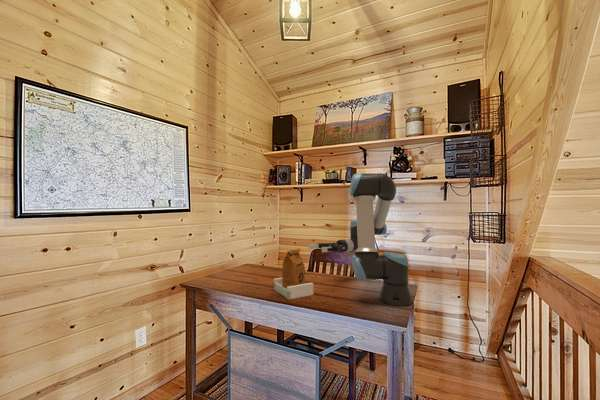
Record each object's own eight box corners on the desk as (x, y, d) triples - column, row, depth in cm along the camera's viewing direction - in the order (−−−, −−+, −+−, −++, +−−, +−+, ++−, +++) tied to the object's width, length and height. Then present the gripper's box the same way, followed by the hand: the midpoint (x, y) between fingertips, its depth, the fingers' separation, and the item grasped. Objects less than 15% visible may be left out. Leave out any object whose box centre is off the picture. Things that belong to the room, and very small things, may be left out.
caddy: (313, 294, 147) (313, 283, 147) (288, 299, 140) (288, 287, 140) (297, 285, 163) (297, 275, 163) (273, 289, 156) (273, 278, 156)
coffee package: (308, 288, 154) (308, 248, 154) (294, 295, 144) (294, 252, 144) (293, 285, 160) (293, 246, 160) (279, 291, 150) (279, 250, 150)
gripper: (358, 254, 161) (328, 258, 150) (332, 249, 183) (304, 251, 172) (358, 241, 161) (328, 244, 151) (332, 237, 183) (304, 239, 172)
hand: (315, 248), depth 161 cm, fingers open, 13 cm apart
